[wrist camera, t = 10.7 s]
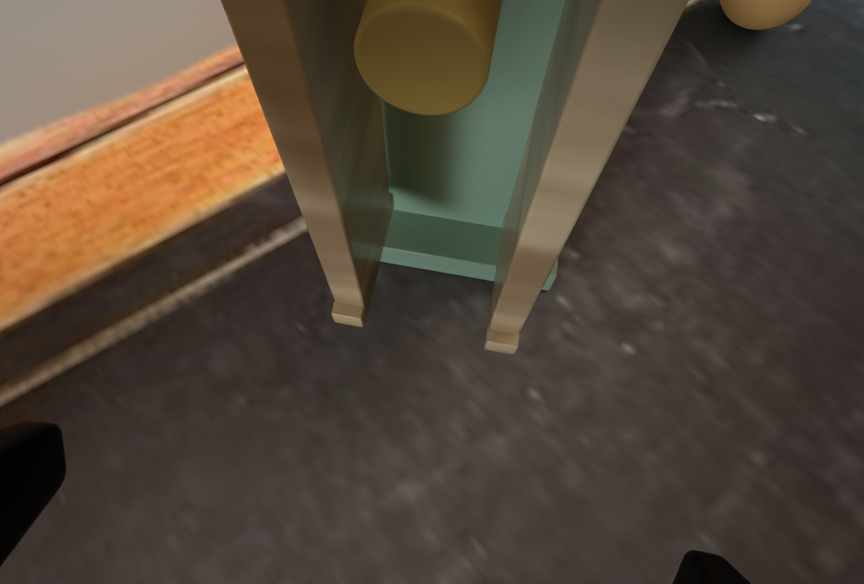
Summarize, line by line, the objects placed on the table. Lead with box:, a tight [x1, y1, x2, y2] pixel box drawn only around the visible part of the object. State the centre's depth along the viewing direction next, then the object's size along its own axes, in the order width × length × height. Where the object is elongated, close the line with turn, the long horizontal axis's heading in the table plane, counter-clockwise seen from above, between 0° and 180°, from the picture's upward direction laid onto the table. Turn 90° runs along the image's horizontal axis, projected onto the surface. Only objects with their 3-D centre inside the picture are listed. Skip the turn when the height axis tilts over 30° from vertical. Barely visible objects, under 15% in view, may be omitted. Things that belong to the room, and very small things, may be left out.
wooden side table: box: [221, 0, 689, 354], centre depth 11 cm, size 4×5×12 cm
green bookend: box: [354, 0, 565, 291], centre depth 12 cm, size 8×8×16 cm
